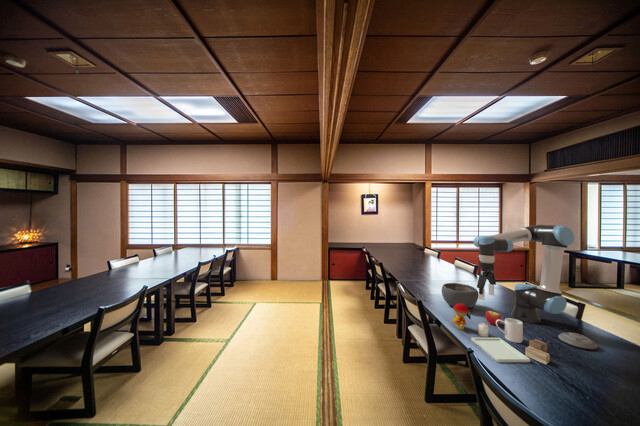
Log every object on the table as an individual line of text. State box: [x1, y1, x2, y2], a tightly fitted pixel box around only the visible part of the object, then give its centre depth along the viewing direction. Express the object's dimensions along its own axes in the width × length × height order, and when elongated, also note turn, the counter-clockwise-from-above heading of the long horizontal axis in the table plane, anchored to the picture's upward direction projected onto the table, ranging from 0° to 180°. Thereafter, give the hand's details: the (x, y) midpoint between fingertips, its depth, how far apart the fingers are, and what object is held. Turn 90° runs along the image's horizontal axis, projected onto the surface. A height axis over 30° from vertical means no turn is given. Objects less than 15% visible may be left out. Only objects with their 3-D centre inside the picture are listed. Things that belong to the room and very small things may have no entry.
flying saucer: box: [557, 331, 598, 350], centre depth 133 cm, size 15×15×6 cm
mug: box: [495, 317, 524, 344], centre depth 138 cm, size 12×8×10 cm, turn 62°
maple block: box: [524, 345, 550, 365], centre depth 119 cm, size 4×8×4 cm, turn 29°
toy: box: [452, 303, 472, 331], centre depth 151 cm, size 11×9×15 cm
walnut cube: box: [528, 338, 548, 353], centre depth 125 cm, size 5×5×5 cm
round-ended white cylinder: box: [477, 322, 489, 338], centre depth 142 cm, size 5×5×6 cm
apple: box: [484, 308, 502, 326], centre depth 156 cm, size 8×8×10 cm
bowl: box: [441, 282, 479, 309], centre depth 185 cm, size 24×24×15 cm
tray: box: [470, 337, 531, 363], centre depth 126 cm, size 16×20×2 cm
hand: (486, 297), depth 144 cm, fingers open, 13 cm apart
